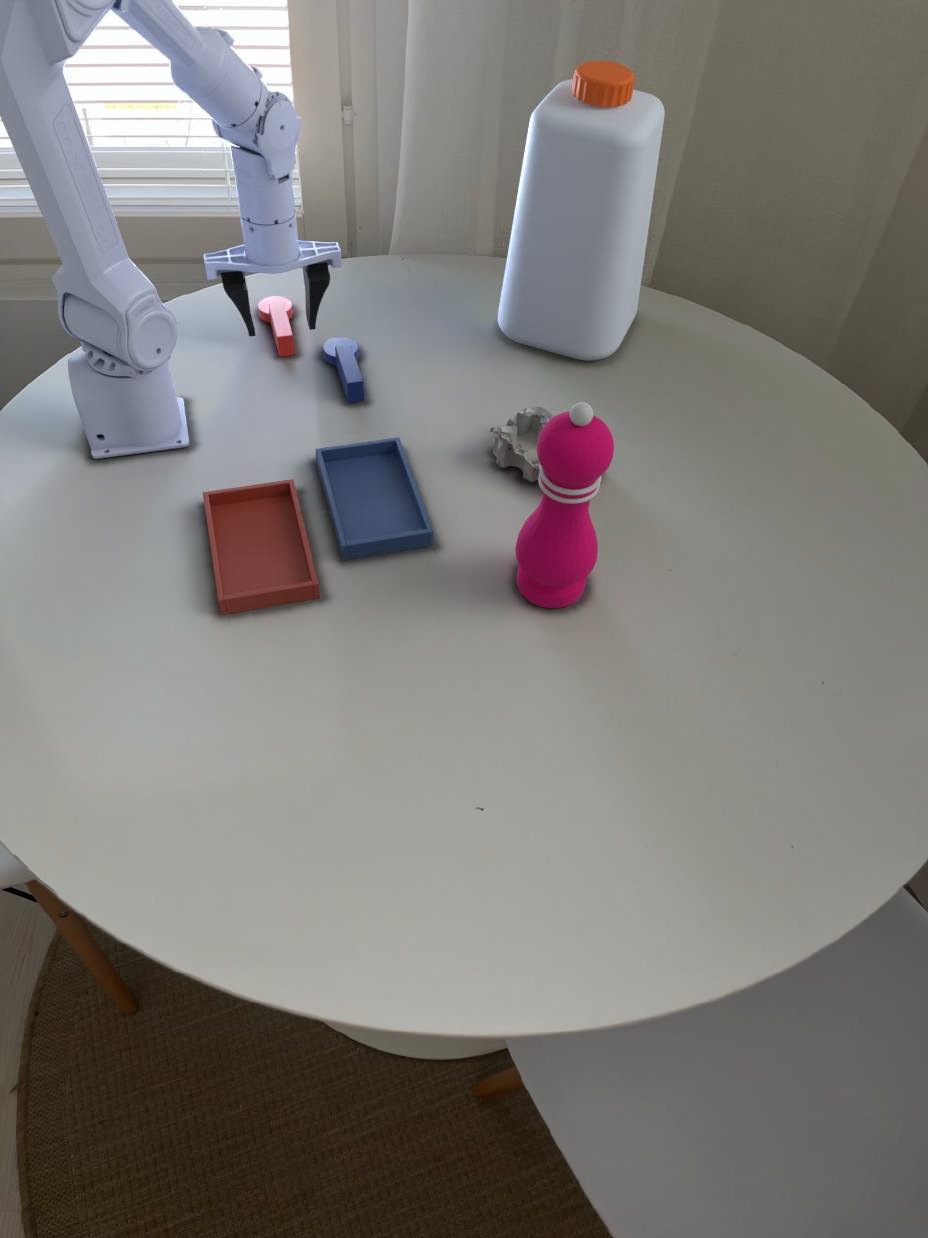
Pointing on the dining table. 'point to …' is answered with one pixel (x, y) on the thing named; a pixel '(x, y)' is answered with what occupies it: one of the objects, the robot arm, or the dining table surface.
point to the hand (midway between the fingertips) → (281, 327)
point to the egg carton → (521, 441)
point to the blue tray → (373, 499)
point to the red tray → (259, 547)
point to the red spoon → (279, 322)
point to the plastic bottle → (582, 214)
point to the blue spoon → (346, 365)
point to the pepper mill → (564, 509)
